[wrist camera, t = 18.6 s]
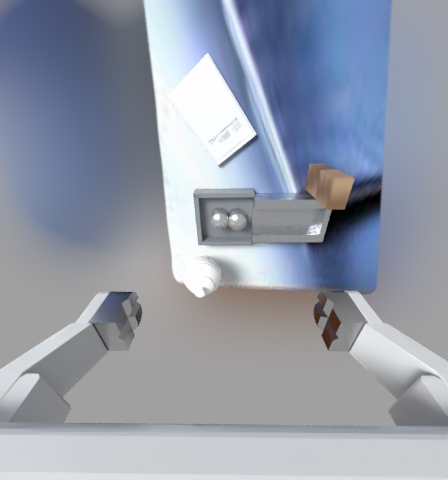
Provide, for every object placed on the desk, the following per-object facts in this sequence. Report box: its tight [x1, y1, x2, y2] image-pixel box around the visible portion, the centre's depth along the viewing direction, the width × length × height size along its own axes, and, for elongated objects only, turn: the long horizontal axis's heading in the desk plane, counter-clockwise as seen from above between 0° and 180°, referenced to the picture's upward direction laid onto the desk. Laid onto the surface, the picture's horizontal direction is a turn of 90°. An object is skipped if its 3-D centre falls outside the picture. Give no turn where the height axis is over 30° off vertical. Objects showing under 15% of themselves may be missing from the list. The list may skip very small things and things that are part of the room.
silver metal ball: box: [228, 208, 247, 231], centre depth 39 cm, size 3×3×3 cm
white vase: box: [183, 255, 222, 297], centre depth 41 cm, size 8×8×12 cm
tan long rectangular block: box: [305, 164, 355, 209], centre depth 32 cm, size 4×2×10 cm, turn 1°
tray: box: [193, 188, 255, 245], centre depth 40 cm, size 11×11×3 cm
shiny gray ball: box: [211, 208, 229, 230], centre depth 39 cm, size 3×3×3 cm
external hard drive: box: [167, 53, 257, 166], centre depth 32 cm, size 2×8×12 cm
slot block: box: [251, 193, 332, 243], centre depth 39 cm, size 9×14×4 cm, turn 91°
